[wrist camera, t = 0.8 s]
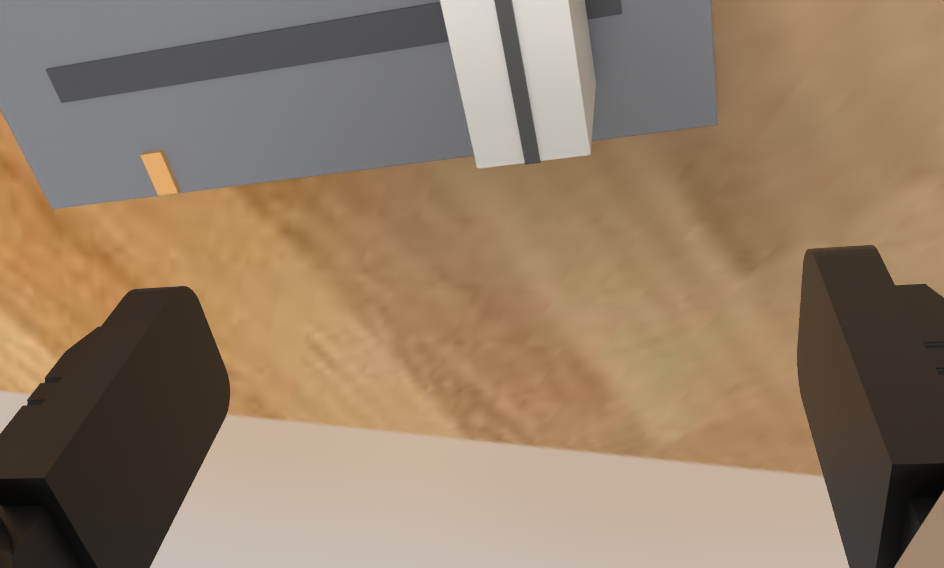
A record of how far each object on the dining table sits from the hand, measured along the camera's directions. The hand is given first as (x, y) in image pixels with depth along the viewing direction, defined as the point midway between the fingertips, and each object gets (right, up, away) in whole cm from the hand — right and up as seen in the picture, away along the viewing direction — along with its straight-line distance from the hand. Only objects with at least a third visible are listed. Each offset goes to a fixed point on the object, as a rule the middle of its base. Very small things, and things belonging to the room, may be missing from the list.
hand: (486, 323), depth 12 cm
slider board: (-5, +9, +18) cm, 20 cm away
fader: (+2, +9, +14) cm, 17 cm away
